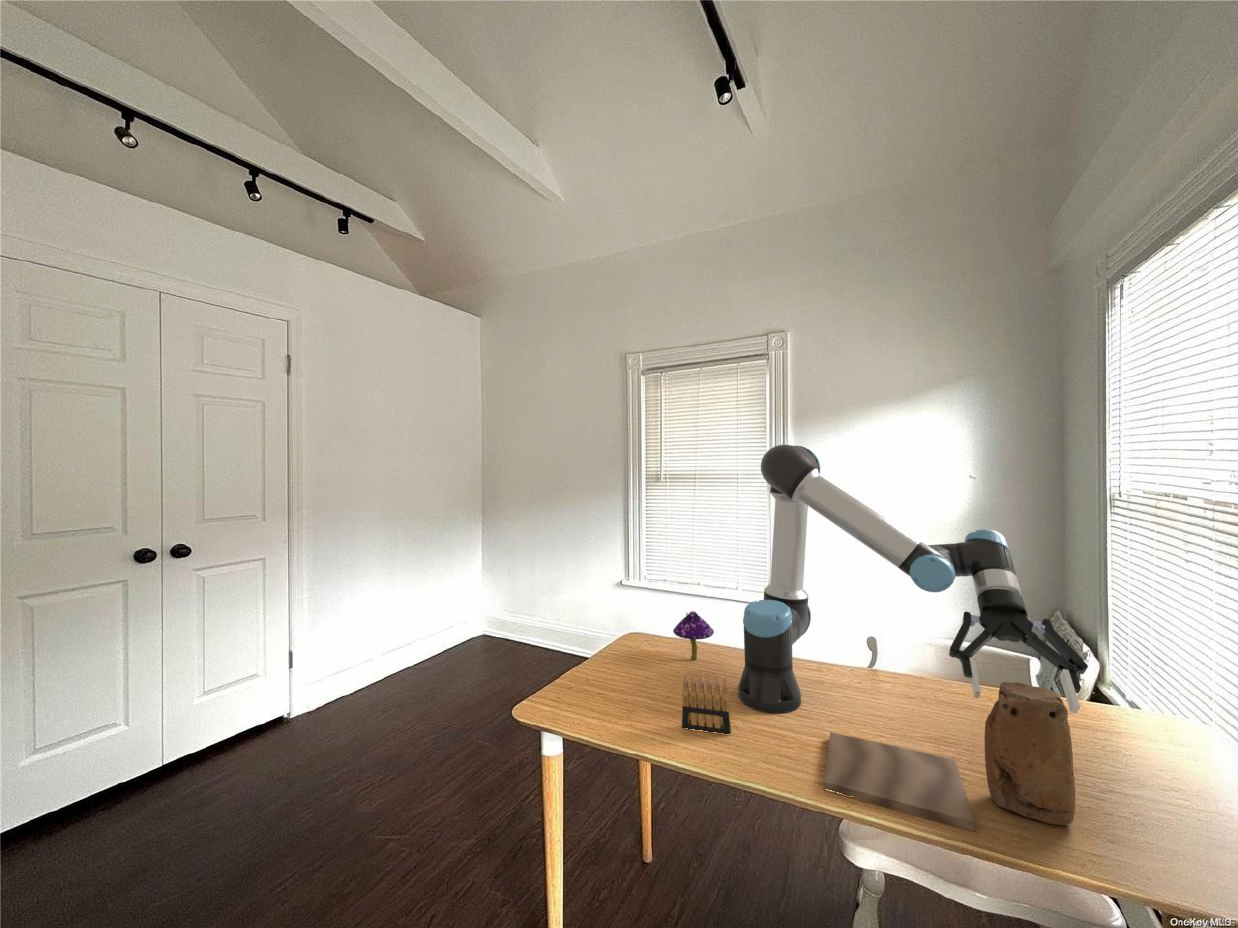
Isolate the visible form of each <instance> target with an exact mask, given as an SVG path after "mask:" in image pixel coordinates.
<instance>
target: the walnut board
mask: <svg viewBox="0 0 1238 928" xmlns="http://www.w3.org/2000/svg"><path fill="white" fill-rule="evenodd" d="M825 762H826V763H825V770H824V778H823V790H824V789H828V790H832V791H835V792H839V793H842V794H844V795H847V796H853V797H855V798H858V799H861V800H863V801H862V802H865V801H866V802H865V803H869V802H870V804H872V803H873V805H876V806H880V807H883V806H884V808H887V807H888V808H887V809H891V808H892V810H894V809H896V810H895V811H899V812H902V813H905V812H906V813H905V814H909V815H913V816H917V817H919V818H923V819H928V820H931V821H935V822H939V823H943V824H945V825H950V826H953V827H956V826H957V828H960V829H963V830H966V831H967V830H968V831H971V832H975V829H976V828H975V820H974V816H973V812H972V809H971V807H970V804H969V800H968V796H967V793H966V790H965V788H964V783H963V781H962V777H961V773H960V770H959V768H958V765H957V762H956V759H954V758H949V757H945V756H941V755H936V754H932V753H926V752H922V751H918V750H914V749H908V748H905V747H900V746H895V745H892V744H891V745H890V744H886V743H882V742H878V741H877V742H876V741H874V740H873V741H872V740H868V739H863V738H859V737H856V736H855V737H854V736H849V735H844V734H840V733H836V732H830V733H829V739H828V746H827V755H826V761H825ZM847 796H846V797H847ZM858 799H857V800H858ZM861 800H860V801H861Z"/></svg>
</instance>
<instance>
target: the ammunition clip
mask: <svg viewBox="0 0 1238 928" xmlns="http://www.w3.org/2000/svg"><path fill="white" fill-rule="evenodd" d="M728 686H729V685H728V681H727V679H726V677H724V679H723V682H722V692H721V687H720V681H719V678H718V677H716V678H715V680H714V687H712V681H711V677H710V676H707V679H706V687H704V680H703V676H702V675H700V676H699V679H698V689H697V683H696V677H695V675H694V674H692V675H691V678H690V689H689V679H688V675H687V674H686V673H685V674H684V676H683V680H682V693H681V695H682V700H681V701H682V711H681V712H682V713H681V715H682V716H681V728H688V729H695V730H703V731H708V732H717V733H724V734H730V733H732V732H731V731H732V728H731V727H732V726H731V715H730V696H729V688H728ZM705 688H706V689H705ZM712 688H713V689H714V691H713V689H712ZM697 690H698V692H697ZM713 693H714V694H713ZM721 693H722V694H721Z"/></svg>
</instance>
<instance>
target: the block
mask: <svg viewBox="0 0 1238 928" xmlns="http://www.w3.org/2000/svg"><path fill="white" fill-rule="evenodd" d="M1068 715H1069V710H1068V709H1067V705H1065V703H1064V701H1063V699H1062V698H1061V696H1060V694H1058V693H1057V692H1055V691H1054V690H1053V689H1048V688H1046V687H1040V686H1035V685H1029V684H1026V683H1021V682H1009V681H1004V682H1001V683H1000V685H999V690H998V699H997V700H996V701H995V703H994V705H993V707H992V708H991V711H990V713H989V714H988V715H987V718H986V720H985V724H984V761H985V775H986V781H987V782H986V783H987V786H988V791H989V795H990V797H991V799H992V800H993V801H994V803H995V804H996V805H997V806H999V808H1003V809H1006V810H1007V811H1012V812H1014V813H1017V814H1018V815H1019V816H1020V815H1021V816H1023V817H1026V818H1030V819H1033V820H1037V821H1040V822H1041V823H1046V824H1051V825H1057V826H1059V825H1060V826H1066V825H1067V826H1068V825H1071V824H1072V823H1073V822H1074V818H1075V813H1076V783H1075V774H1074V756H1073V744H1072V736H1071V728H1070V724H1069V721H1068V717H1069V716H1068Z"/></svg>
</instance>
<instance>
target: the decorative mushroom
mask: <svg viewBox="0 0 1238 928" xmlns="http://www.w3.org/2000/svg"><path fill="white" fill-rule="evenodd" d="M672 631H673V634H674V635H675V636H676V637H679V638H681V639H685V640H689V641H690V644H691V656H690V659H691V661H697V659H698V645H697V641H698V640H705V639H708V638H710V637H712V636H713V635H714V633H715V631H714V629H713V628H712V627H711V626H710V624H709V623H707V621H706V620H705V619H704V618H702V617H701V616H700V615H699V614H698V613H697V612H696V611H693V610H692V611H690V612H689V613H688V614H687V615H686V616H684V617H683V618H682V619H681V620H680V621H679V622H678V623H677V624H676V626H675V627H674V628H673V630H672ZM696 640H697V641H696Z"/></svg>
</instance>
